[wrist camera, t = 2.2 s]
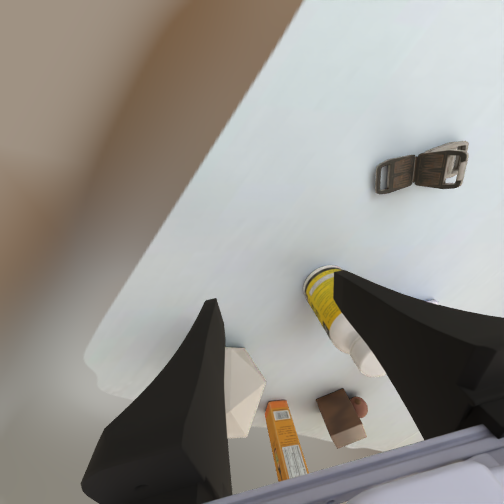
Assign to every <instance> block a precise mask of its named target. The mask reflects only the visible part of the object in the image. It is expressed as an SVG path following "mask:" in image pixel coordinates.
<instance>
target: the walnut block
mask: <svg viewBox="0 0 504 504" xmlns="http://www.w3.org/2000/svg"><path fill="white" fill-rule="evenodd" d="M316 402H317V404H318V407H319V409H320V412H321V414H322V417H323V419H324V422H325V424H326V427H327V429H328V432H329V434H330V437H331V438H332V440H333V442H334V443H335V445H336V447H337V449H338V448H341V447H343V446H346V445H348V444H351V443H353V442H356V441H358V440H361V439H363V438H366V437H367V435H366V433H365V430H364V427H363V424H362V422H361V420H360V418H359V416H358V415H357V413H356V411H355V409H354V407H353V405H352V403H351V402H350V400H349V398H348V396H347V394H346V392H345V390H344V389H340V390H338V391H335V392H333V393H330V394H328V395H326V396H323V397H321V398H318V399H316Z"/></svg>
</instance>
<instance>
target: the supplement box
mask: <svg viewBox="0 0 504 504" xmlns="http://www.w3.org/2000/svg"><path fill="white" fill-rule="evenodd" d="M265 418H266V423H267V428H268V433H269V437H270V442H271V447H272V452H273V457H274V461H275V466H276V471H277V476H278V481H279V482H280V481H284V480H287V479H291V478H294V477H298V476H301V475H305V474H308V473H309V472H308V468H307V466H306V462H305V459H304V456H303V452H302V449H301V446H300V443H299V439H298V436H297V433H296V430H295V426H294V423H293V420H292V417H291V414H290V410H289V407H288V404H287V401H286V400H278V401H270V402H268V406H267V409H266V412H265Z"/></svg>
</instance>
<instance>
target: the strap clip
mask: <svg viewBox="0 0 504 504" xmlns="http://www.w3.org/2000/svg"><path fill="white" fill-rule="evenodd" d="M468 145H469V143H468V142H467V141H459V142H450V143H447V144H444V145H441V146H438V147H435V148H432V149H429V150H427V151H426V152H425V153H421V154H419V155H418V157H415V155H407V156H402V157H398V158H393V159H388V160H386V161H384V162H382V163H380V164H379V165H378V166H377V167H376V181H375V192H376V193H377V194H386V193H391V192H394V191H396V190H399V189H402V188H405V187H408V186H410V185H411V184H412V182H413V183H414V182H415V185H418V186H425V187H432V188H439V189H451V188H457V187H459V186H461V184H462V183H463V178H464V174H465V169H466V165H467V161H468V153H467V150H468ZM457 147H458V148H457ZM455 156H456V158H455ZM454 159H455V163H454ZM453 164H454V167H453ZM386 165H388V175H387V189H382V190H380V179H381V168H382V167H384V166H386ZM455 175H457V179H456V182H455V183H445V180H446V178H449V177H453V176H455Z"/></svg>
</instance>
